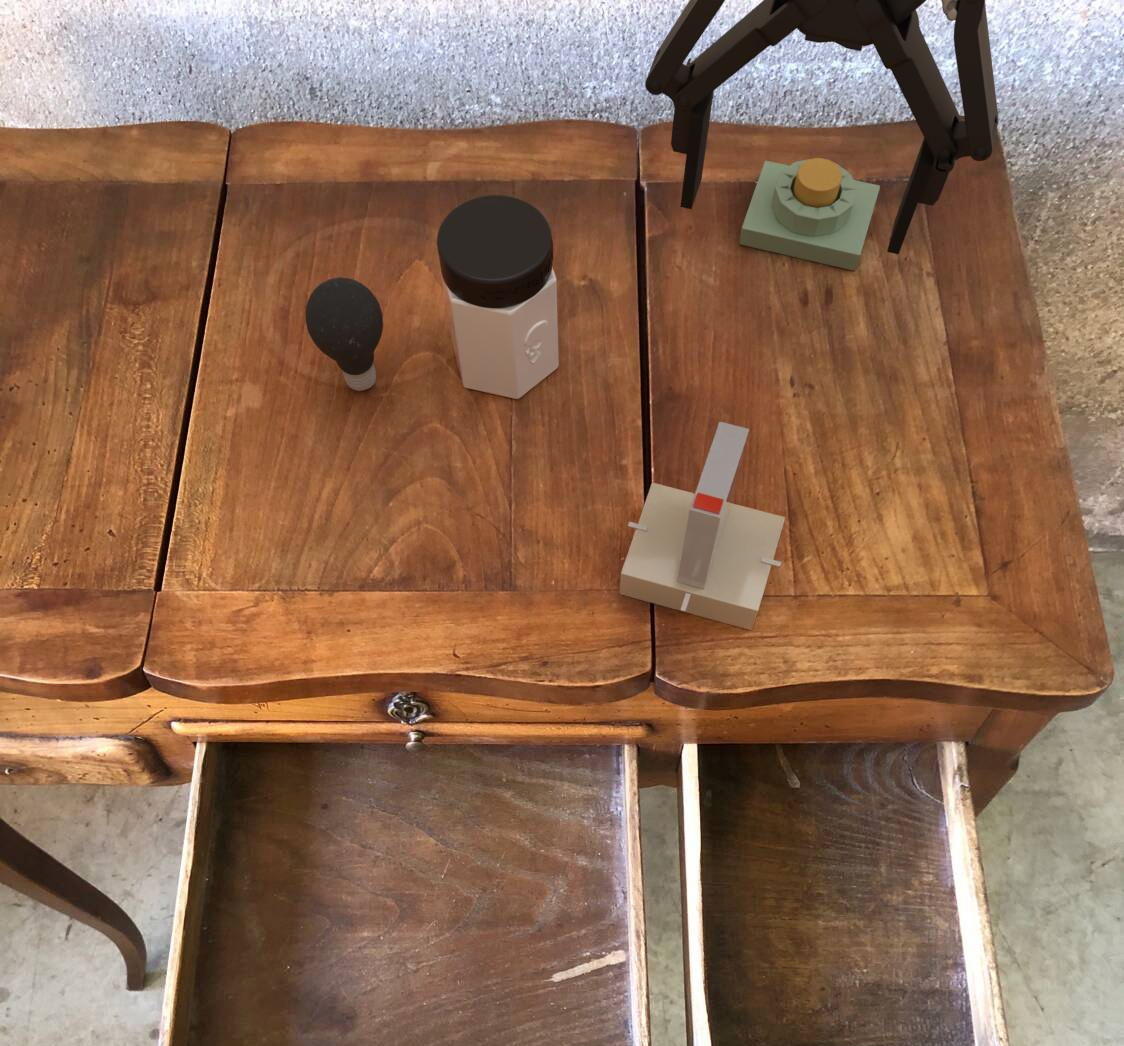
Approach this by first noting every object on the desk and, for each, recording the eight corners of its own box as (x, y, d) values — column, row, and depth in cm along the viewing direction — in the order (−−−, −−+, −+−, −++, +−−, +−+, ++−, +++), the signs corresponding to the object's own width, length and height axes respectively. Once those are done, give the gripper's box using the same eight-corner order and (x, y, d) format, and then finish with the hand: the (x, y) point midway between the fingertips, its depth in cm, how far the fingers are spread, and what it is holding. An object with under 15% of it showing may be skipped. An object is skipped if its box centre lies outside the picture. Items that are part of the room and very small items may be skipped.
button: (841, 181, 86) (846, 163, 85) (831, 213, 85) (836, 194, 84) (798, 172, 87) (803, 153, 85) (788, 203, 86) (792, 185, 84)
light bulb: (313, 386, 84) (280, 291, 74) (364, 345, 85) (338, 246, 76) (361, 425, 82) (333, 334, 73) (412, 383, 84) (391, 287, 74)
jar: (499, 419, 82) (487, 304, 71) (430, 359, 84) (407, 240, 73) (580, 354, 84) (580, 233, 73) (511, 298, 87) (501, 172, 75)
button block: (875, 202, 90) (886, 166, 86) (855, 271, 87) (866, 237, 84) (761, 177, 91) (768, 141, 88) (738, 244, 88) (744, 209, 85)
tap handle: (703, 500, 76) (719, 418, 67) (730, 508, 76) (750, 426, 67) (676, 581, 74) (689, 507, 65) (704, 589, 73) (721, 515, 65)
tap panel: (790, 523, 79) (799, 499, 76) (754, 652, 75) (761, 632, 72) (647, 486, 80) (650, 461, 77) (604, 610, 76) (605, 589, 73)
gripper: (600, -164, 48) (592, 216, 68) (1153, -65, 45) (975, 301, 65) (643, -259, 51) (622, 135, 70) (1169, -170, 48) (993, 213, 68)
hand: (792, 215), depth 68 cm, fingers open, 13 cm apart
